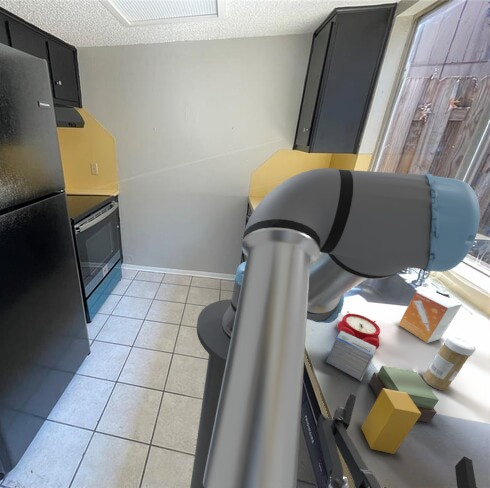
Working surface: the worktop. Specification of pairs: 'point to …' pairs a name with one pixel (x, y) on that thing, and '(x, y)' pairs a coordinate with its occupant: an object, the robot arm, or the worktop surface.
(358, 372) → the medicine box
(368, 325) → the alarm clock
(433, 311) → the small box
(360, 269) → the robot arm
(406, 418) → the yellow bar
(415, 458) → the worktop surface
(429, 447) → the worktop surface
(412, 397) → the green brown square block
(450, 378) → the sprinkles bottle
